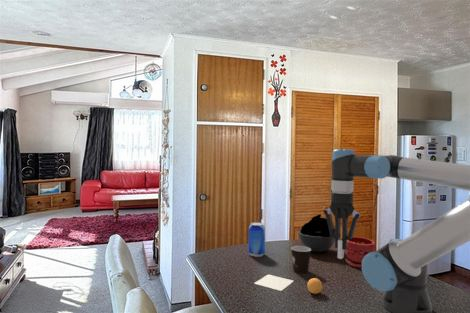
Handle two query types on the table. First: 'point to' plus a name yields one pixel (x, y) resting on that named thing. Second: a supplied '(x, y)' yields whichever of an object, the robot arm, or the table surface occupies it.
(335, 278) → the table surface
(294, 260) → the coffee mug
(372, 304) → the table surface
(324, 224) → the bowl of black rocks
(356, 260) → the plant pot
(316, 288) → the ball
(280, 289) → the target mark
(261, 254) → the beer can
